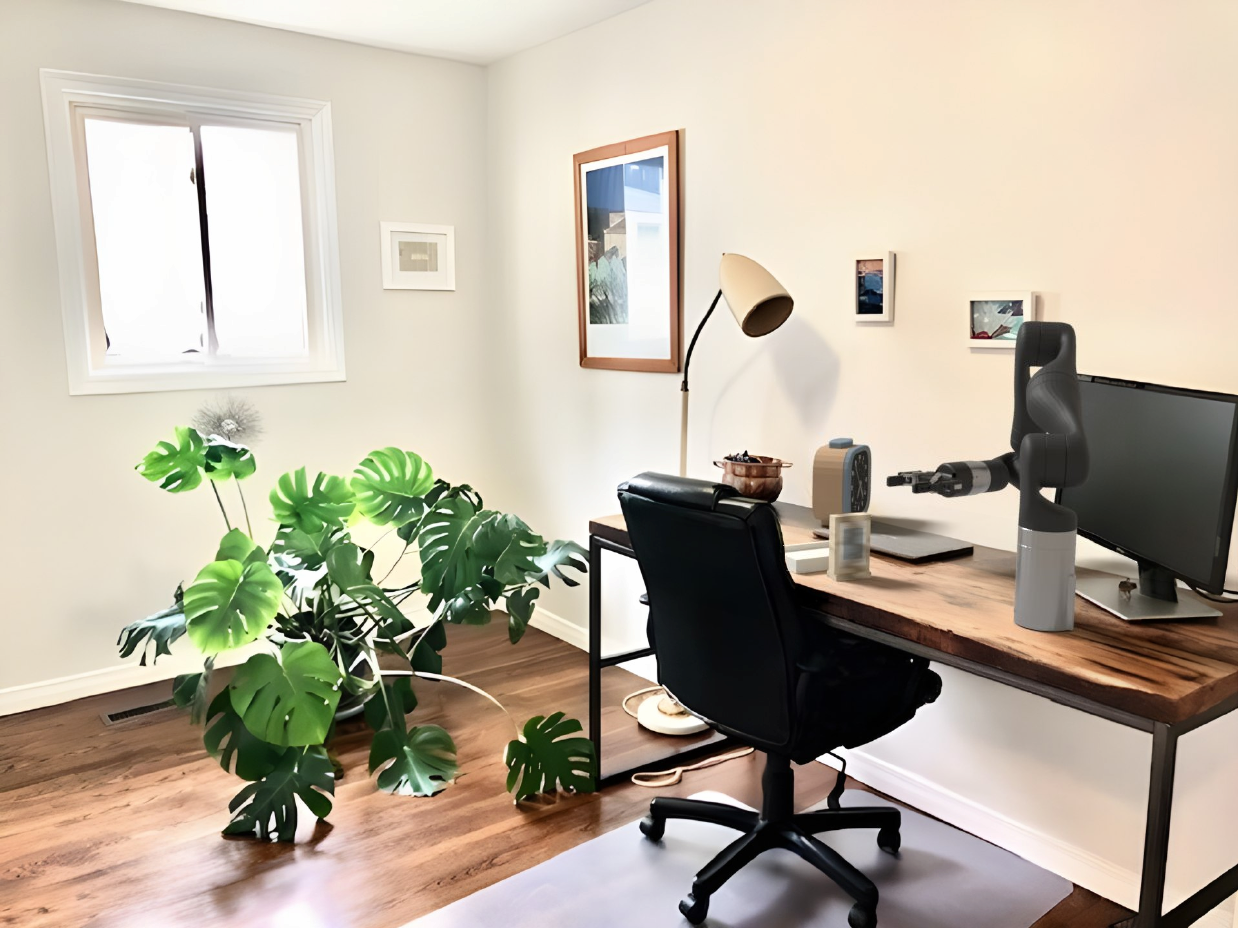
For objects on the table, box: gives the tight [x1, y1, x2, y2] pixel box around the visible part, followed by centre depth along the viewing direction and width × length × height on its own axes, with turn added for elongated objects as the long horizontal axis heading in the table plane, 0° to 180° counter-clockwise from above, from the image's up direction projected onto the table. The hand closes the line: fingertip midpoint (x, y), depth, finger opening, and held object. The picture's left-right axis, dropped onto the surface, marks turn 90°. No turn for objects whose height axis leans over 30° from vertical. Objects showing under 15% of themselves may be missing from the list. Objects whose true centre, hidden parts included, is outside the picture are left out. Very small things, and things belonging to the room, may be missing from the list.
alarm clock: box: [811, 437, 872, 527], centre depth 250 cm, size 21×10×22 cm, turn 150°
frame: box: [826, 512, 872, 582], centre depth 197 cm, size 8×4×13 cm, turn 105°
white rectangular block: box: [785, 539, 829, 575], centre depth 207 cm, size 14×8×4 cm, turn 111°
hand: (900, 485), depth 200 cm, fingers open, 8 cm apart
